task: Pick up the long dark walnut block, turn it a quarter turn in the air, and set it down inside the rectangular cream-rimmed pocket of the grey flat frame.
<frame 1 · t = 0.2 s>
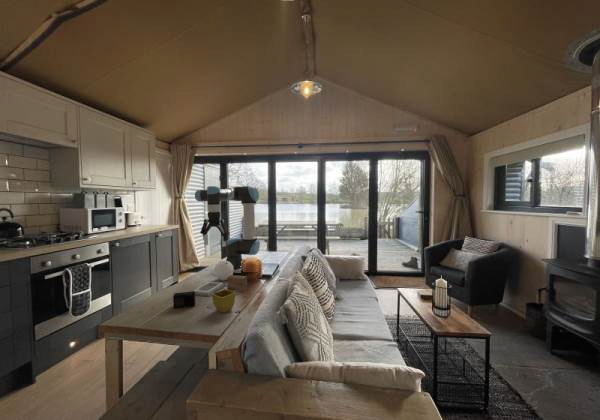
hand: (214, 245, 169), 27 cm above the table, tool pointing down, fingers open, 13 cm apart
grey flat frame: (208, 289, 170), on the table
geodesic sphere: (224, 279, 190), on the table
walnut block: (237, 289, 171), on the table
flower pot: (224, 310, 141), on the table
digital camera: (184, 306, 146), on the table
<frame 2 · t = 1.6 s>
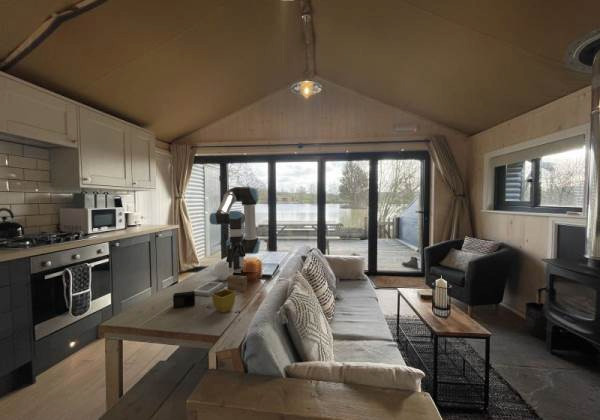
hand: (236, 269, 169), 12 cm above the table, tool pointing down, fingers open, 13 cm apart
nothing on the table moved.
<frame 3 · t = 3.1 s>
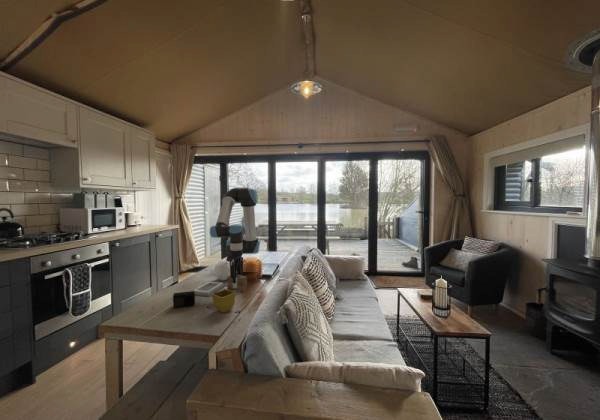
hand: (237, 286, 170), 2 cm above the table, tool pointing down, fingers closed on walnut block, 4 cm apart
walnut block: (237, 289, 171), on the table, touching gripper
everything else where it was.
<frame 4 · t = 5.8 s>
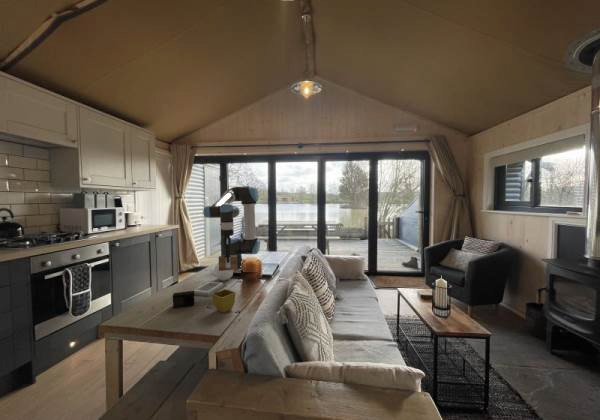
hand: (228, 266, 170), 15 cm above the table, tool pointing down, fingers closed on walnut block, 4 cm apart
walnut block: (228, 269, 170), point 13 cm above the table, touching gripper
everything else where it was.
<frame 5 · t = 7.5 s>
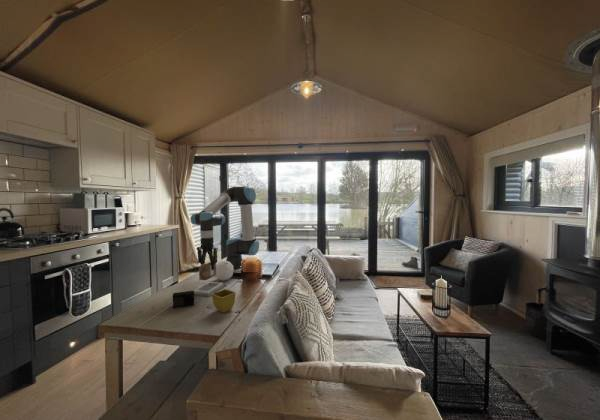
hand: (208, 274, 169), 10 cm above the table, tool pointing down, fingers closed on walnut block, 4 cm apart
walnut block: (208, 277, 169), point 8 cm above the table, touching gripper
everything else where it was.
when the fingers open (5 cm above the table, at t = 8.8 s): walnut block drops 2 cm, resting on grey flat frame.
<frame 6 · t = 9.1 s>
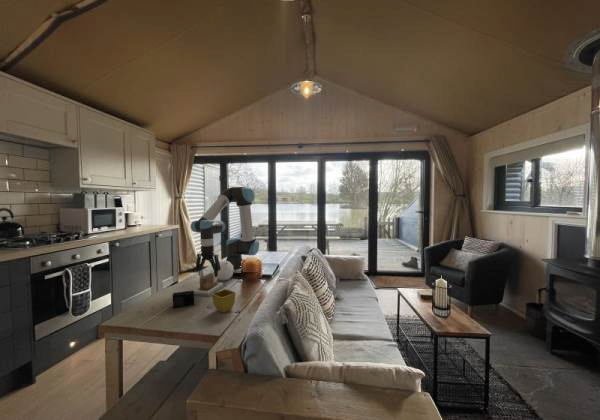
hand: (208, 281, 170), 5 cm above the table, tool pointing down, fingers open, 9 cm apart
walnut block: (208, 288, 170), point 1 cm above the table, touching grey flat frame
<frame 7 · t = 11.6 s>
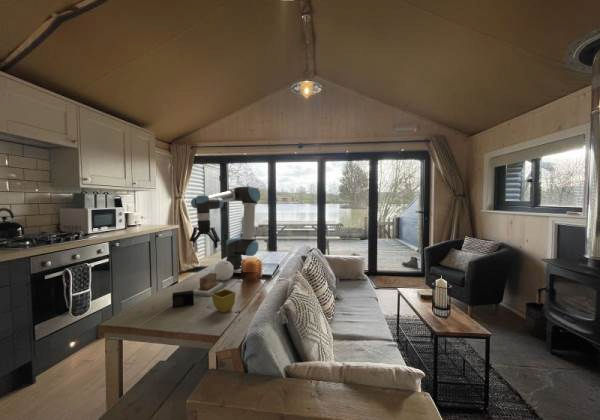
hand: (205, 252, 175), 22 cm above the table, tool pointing down, fingers open, 13 cm apart
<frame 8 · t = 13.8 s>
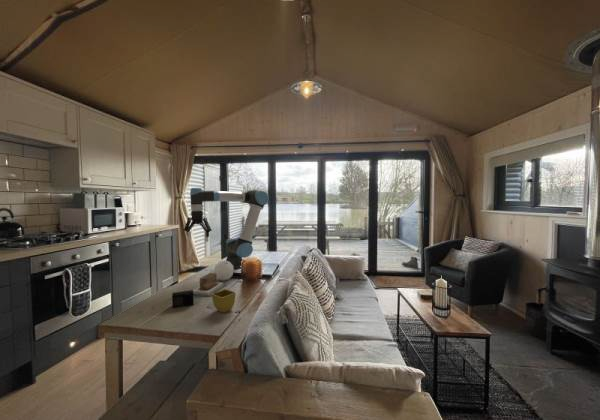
hand: (198, 241, 188), 27 cm above the table, tool pointing down, fingers open, 13 cm apart
at the end: walnut block 0.0 cm off-centre on the grey flat frame, point 0.8 cm above the grey flat frame's base; walnut block tilted 0°; the gripper is holding nothing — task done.
